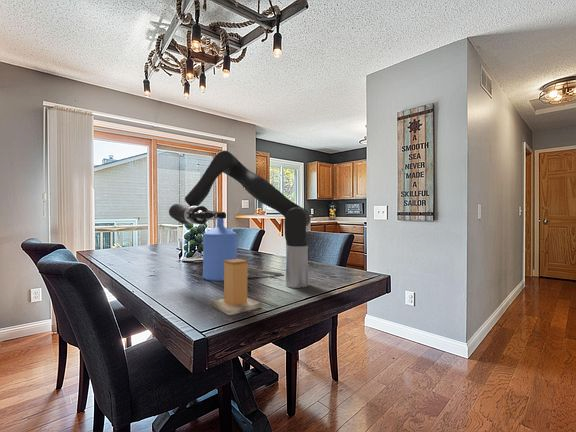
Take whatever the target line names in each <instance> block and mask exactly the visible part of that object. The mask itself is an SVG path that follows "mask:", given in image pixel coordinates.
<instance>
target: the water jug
mask: <svg viewBox="0 0 576 432" xmlns="http://www.w3.org/2000/svg"><path fill="white" fill-rule="evenodd" d="M224 219H225V218H224ZM224 219H223V218H221V219H220V218H217V219H216V227H214V228H211V229H210V230H207V231H205V232H204V233H202V234H203V238H202V243H203V244H202V247H203V253H202V261H203V262H202V264H203V265H202V266H203V269H202V270H203V272H202V276H203V279H204V280H207V281H213V282H224V260H231V259H238V257H237V256H238V255H237V254H238V252H237V251H238V250H237V249H238V248H237V247H238V233H237V232H235V231H234V230H232V229H229V228H227V227H225V225H224V224H225V221H224Z"/></svg>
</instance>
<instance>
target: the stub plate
mask: <svg viewBox="0 0 576 432" xmlns="http://www.w3.org/2000/svg"><path fill="white" fill-rule="evenodd" d="M210 307H212V308H214V309H217V310H218V311H220V312H222V313H223V314H225V315H228V316H232V315H237V314H241V313H244V312H248V311H253V310H257V309H260V308H261V307H262V303H261V302H259V301H258V300H257V301H256V300H255V299H252V298H249V297H248V296H247V303H243V304H239V305H235V306H232V305H230V304H228V303H226V302H224V298H220V299H216V300H211V301H210Z"/></svg>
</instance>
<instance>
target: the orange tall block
mask: <svg viewBox="0 0 576 432" xmlns="http://www.w3.org/2000/svg"><path fill="white" fill-rule="evenodd" d="M248 267H249V264H248V260H246V259H242V258H237V259H231V260H224V281H223V299H224V302H226V303H228V304H230V305H232V306H235V305H239V304H243V303H247V297H248V277H247V269H248Z"/></svg>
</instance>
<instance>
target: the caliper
mask: <svg viewBox="0 0 576 432" xmlns="http://www.w3.org/2000/svg"><path fill="white" fill-rule="evenodd" d="M250 274H253V275H257V274H262V275H263V274H264V275H270V276H271V275H272V276H276V275H281V276H284V274H283V273H282V272H277V271H271V270H263V269H258V268H257V267H256V268H255V267H249V266H248V269H247V278H248V277H249V275H250Z"/></svg>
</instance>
